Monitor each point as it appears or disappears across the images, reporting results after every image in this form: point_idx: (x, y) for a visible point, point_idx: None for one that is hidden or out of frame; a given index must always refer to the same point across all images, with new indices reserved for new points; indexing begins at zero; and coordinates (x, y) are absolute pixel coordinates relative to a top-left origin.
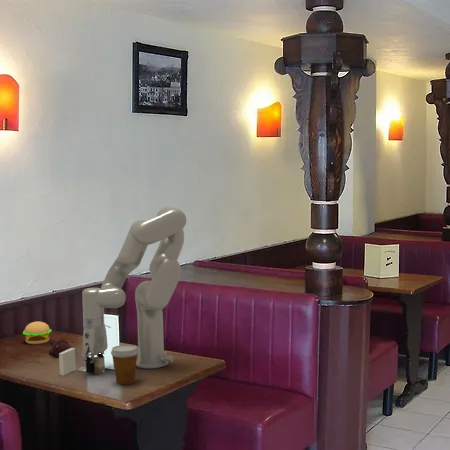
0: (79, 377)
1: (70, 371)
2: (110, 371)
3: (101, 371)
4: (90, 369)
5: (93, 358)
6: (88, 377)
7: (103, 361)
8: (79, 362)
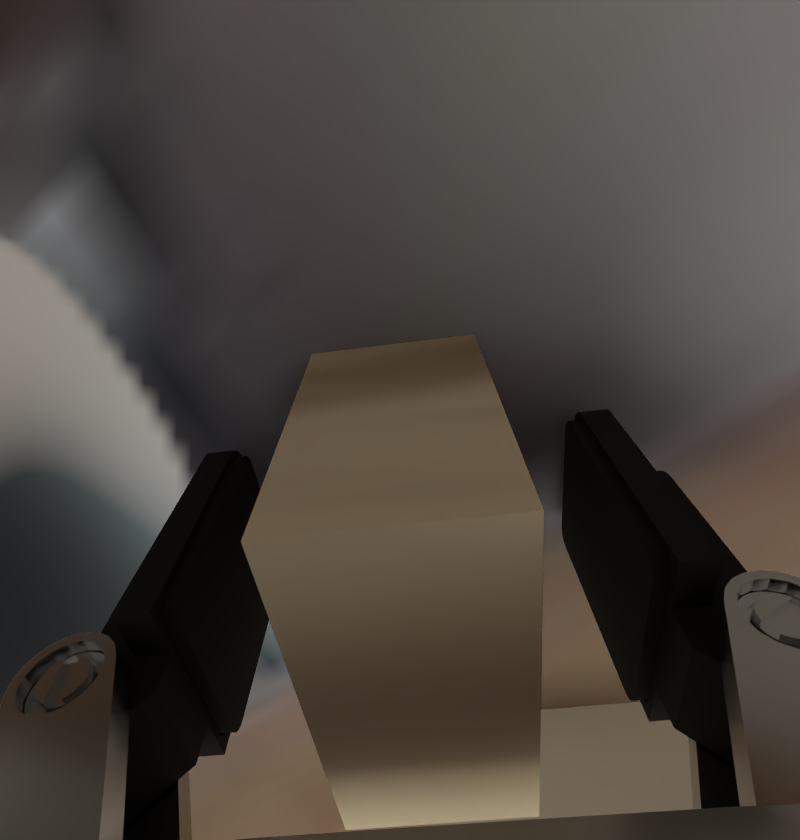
0: (770, 510)
1: (554, 716)
2: (262, 238)
3: (444, 349)
4: (680, 494)
5: (759, 694)
6: (757, 389)
7: (324, 469)
8: (192, 802)
